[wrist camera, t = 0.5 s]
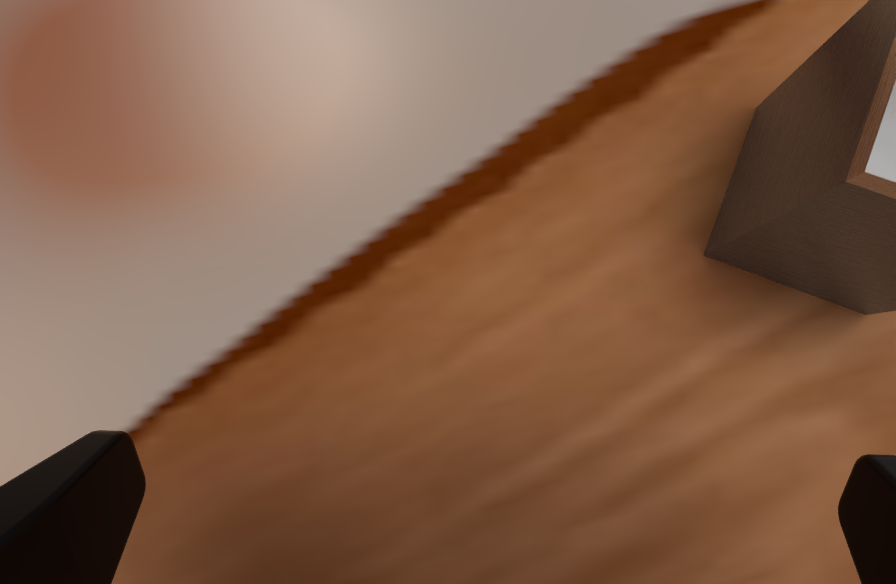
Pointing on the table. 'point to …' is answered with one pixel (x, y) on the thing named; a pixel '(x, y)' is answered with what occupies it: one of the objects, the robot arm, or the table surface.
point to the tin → (823, 173)
